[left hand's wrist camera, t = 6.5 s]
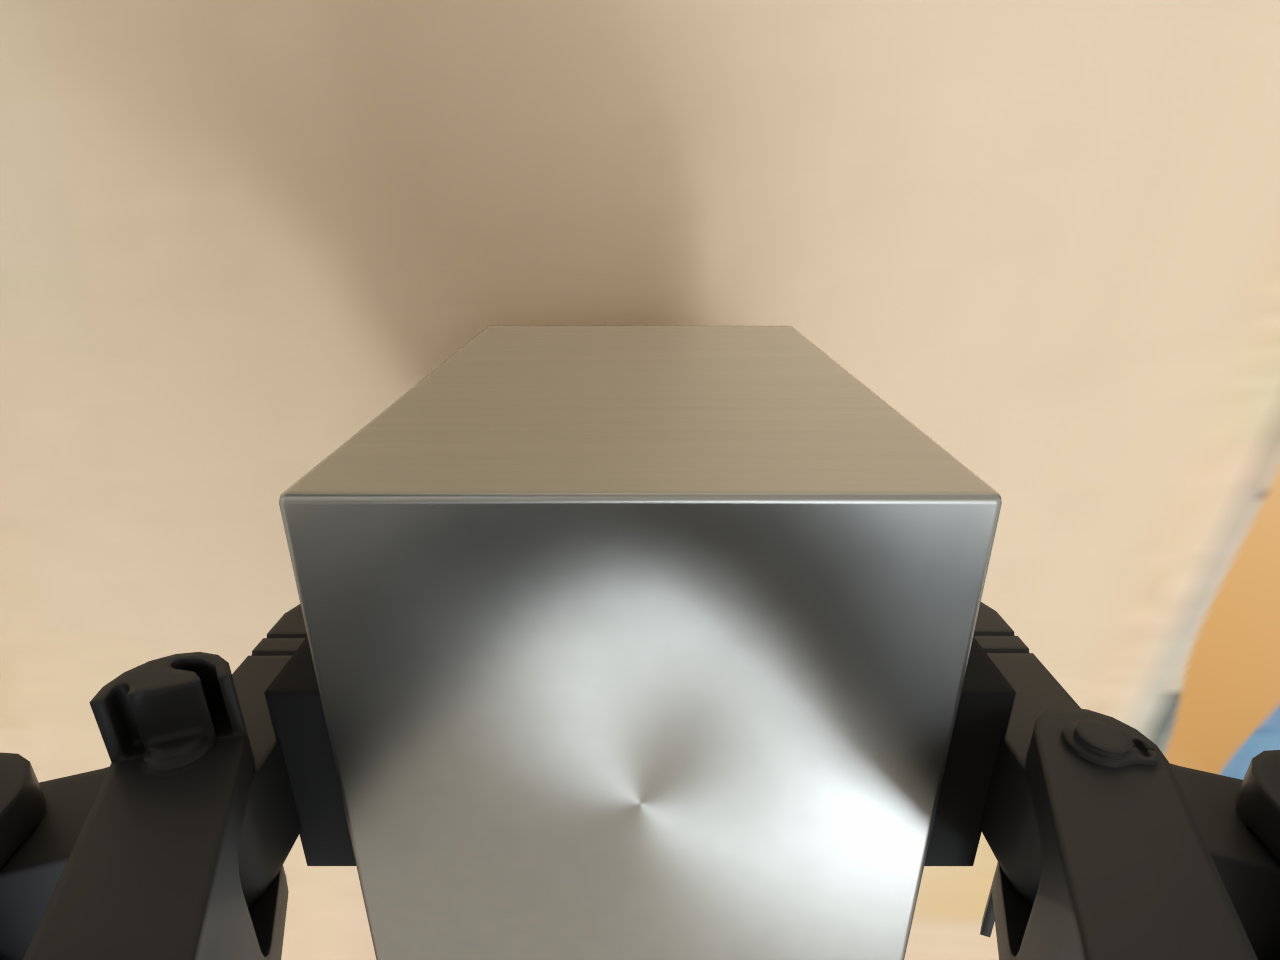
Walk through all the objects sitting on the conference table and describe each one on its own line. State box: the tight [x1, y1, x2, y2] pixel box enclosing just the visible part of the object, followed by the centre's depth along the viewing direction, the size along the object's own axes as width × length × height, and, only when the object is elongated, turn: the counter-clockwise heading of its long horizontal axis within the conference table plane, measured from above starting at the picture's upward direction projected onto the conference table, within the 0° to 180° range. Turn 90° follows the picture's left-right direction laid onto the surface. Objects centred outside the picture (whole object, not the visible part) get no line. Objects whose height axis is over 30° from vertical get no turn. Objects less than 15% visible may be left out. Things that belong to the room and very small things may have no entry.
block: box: [279, 326, 1002, 960], centre depth 12 cm, size 8×7×10 cm
